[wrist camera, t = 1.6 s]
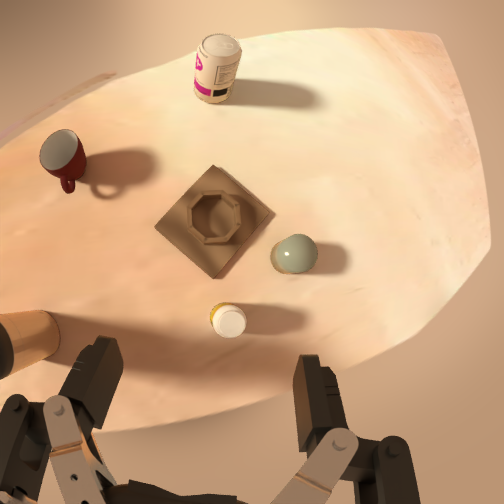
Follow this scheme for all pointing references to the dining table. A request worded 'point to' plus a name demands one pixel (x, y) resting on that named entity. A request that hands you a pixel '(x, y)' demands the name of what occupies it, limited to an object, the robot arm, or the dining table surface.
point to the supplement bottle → (228, 320)
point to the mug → (64, 158)
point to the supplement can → (216, 67)
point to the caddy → (211, 221)
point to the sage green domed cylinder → (294, 254)
